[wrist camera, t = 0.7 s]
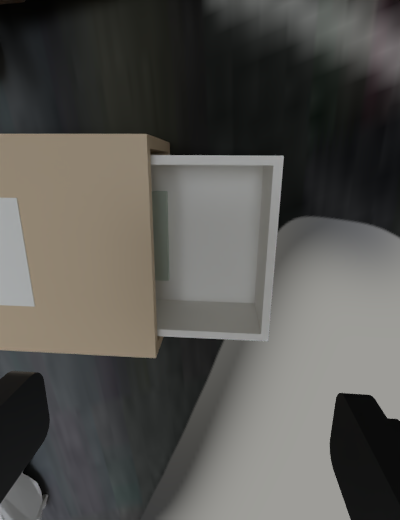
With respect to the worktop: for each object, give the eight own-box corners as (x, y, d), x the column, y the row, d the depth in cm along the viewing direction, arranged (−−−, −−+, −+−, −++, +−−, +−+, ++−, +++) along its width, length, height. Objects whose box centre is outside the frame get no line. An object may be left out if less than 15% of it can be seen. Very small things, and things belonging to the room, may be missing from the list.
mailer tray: (47, 156, 27) (-1, 154, 21) (270, 157, 26) (283, 155, 20) (66, 298, 31) (30, 329, 25) (259, 306, 30) (268, 341, 24)
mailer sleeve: (-47, 141, 28) (-155, 133, 20) (169, 142, 27) (146, 133, 19) (-12, 301, 33) (-89, 346, 25) (173, 309, 32) (155, 359, 24)
